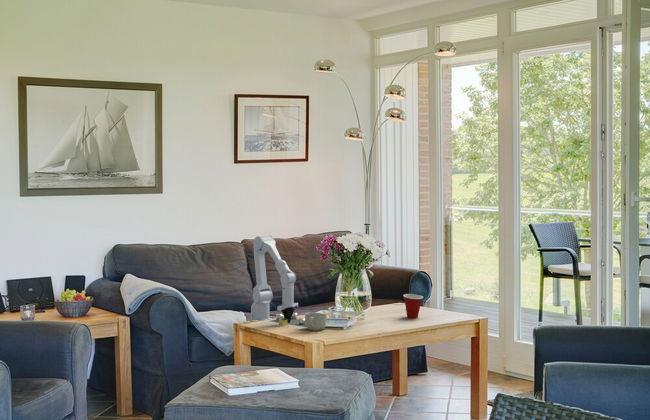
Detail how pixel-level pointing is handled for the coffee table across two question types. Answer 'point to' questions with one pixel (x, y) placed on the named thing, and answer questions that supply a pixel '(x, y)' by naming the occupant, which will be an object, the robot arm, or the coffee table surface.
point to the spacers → (294, 316)
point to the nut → (283, 322)
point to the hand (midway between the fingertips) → (287, 322)
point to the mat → (293, 323)
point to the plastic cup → (412, 305)
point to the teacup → (315, 321)
